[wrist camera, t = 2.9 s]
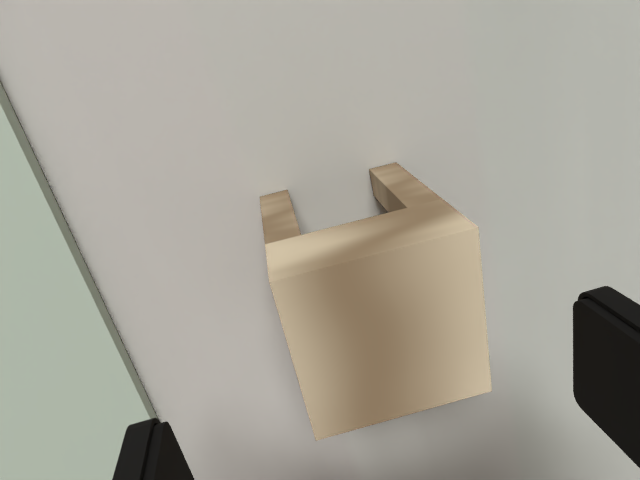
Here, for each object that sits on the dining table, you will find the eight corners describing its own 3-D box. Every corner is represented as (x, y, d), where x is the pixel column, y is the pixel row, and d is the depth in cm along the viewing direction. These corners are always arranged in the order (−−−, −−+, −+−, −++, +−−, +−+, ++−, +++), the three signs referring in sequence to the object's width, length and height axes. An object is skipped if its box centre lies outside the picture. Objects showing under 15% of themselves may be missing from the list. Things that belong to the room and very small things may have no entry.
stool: (395, 162, 17) (478, 227, 11) (413, 282, 19) (492, 391, 13) (259, 196, 17) (269, 282, 11) (292, 314, 19) (315, 440, 13)
